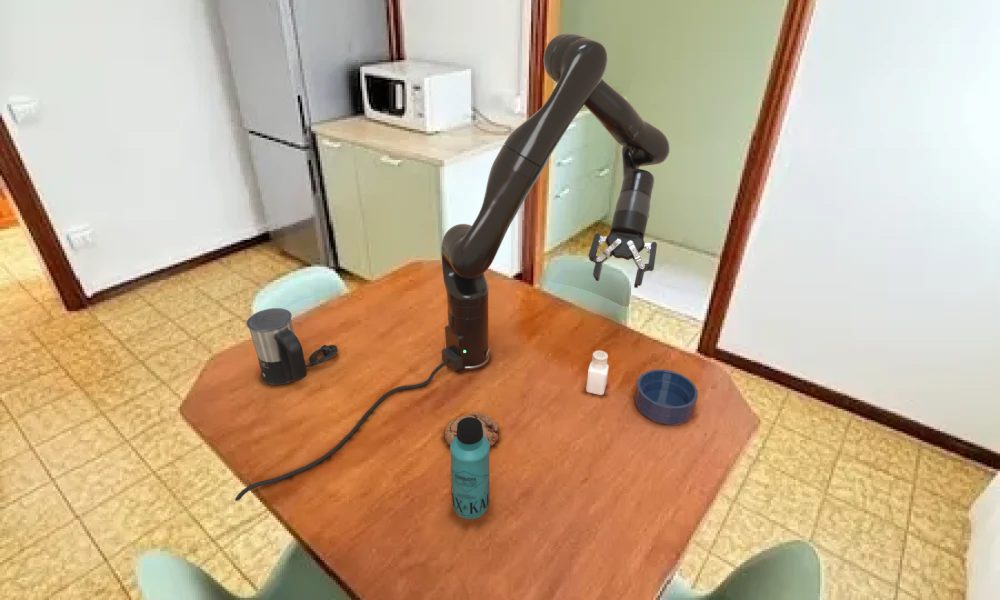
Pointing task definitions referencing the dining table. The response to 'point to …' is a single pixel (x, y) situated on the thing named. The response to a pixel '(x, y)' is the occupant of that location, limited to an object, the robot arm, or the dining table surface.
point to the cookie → (487, 424)
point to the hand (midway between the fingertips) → (616, 283)
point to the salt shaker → (597, 373)
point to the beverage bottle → (470, 469)
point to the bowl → (665, 396)
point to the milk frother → (281, 347)
